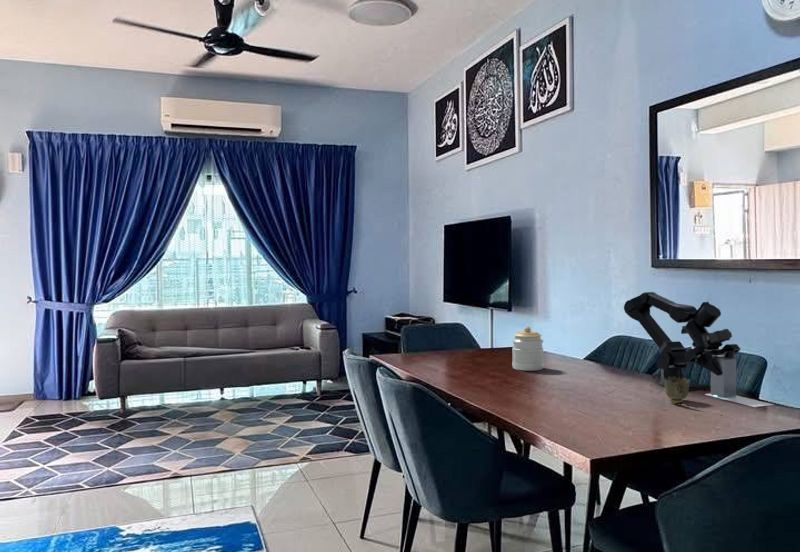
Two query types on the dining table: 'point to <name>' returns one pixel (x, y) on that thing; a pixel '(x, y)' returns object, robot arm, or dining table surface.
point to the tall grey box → (724, 377)
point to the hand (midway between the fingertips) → (727, 374)
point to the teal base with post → (724, 397)
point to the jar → (527, 351)
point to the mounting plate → (745, 401)
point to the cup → (676, 389)
